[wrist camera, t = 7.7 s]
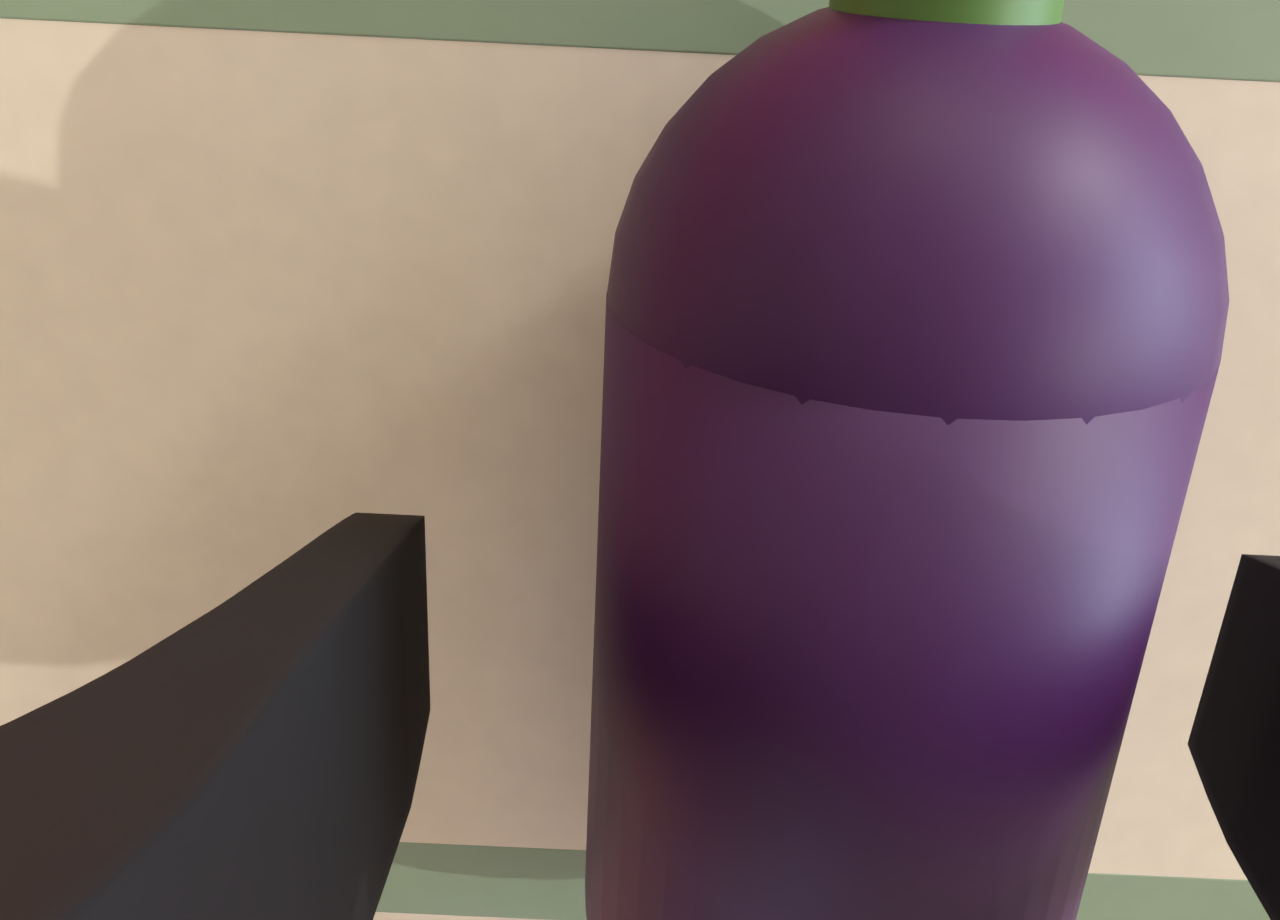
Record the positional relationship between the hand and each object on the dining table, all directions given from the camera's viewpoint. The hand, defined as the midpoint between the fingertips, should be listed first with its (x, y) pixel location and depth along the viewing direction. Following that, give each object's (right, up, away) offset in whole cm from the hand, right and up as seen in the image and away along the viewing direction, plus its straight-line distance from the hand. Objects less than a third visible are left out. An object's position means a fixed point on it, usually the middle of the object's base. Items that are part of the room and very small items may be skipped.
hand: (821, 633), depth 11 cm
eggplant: (0, +1, +2) cm, 2 cm away
